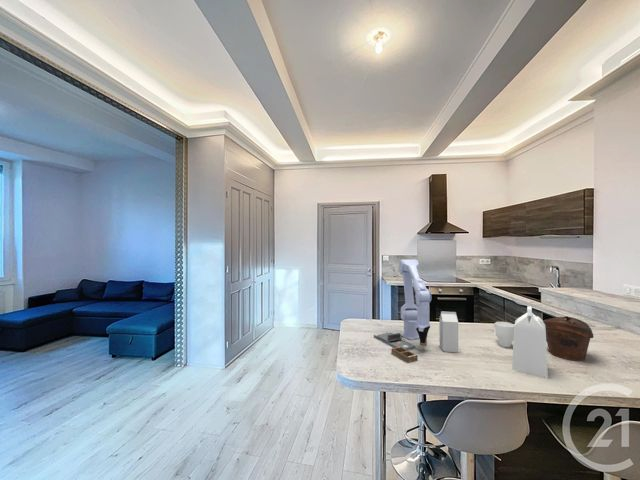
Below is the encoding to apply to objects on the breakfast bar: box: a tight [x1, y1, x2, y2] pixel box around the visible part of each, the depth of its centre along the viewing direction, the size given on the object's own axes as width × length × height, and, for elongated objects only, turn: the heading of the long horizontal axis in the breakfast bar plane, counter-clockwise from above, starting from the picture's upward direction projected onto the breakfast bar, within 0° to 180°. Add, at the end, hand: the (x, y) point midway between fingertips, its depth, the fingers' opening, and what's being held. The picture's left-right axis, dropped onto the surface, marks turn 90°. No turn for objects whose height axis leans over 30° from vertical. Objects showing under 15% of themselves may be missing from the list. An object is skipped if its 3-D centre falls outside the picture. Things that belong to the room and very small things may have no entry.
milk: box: [511, 305, 549, 379], centre depth 115 cm, size 12×12×26 cm
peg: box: [419, 335, 428, 347], centre depth 134 cm, size 3×3×6 cm
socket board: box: [390, 347, 419, 364], centre depth 126 cm, size 6×11×2 cm, turn 26°
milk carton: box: [438, 311, 459, 354], centre depth 135 cm, size 7×7×19 cm
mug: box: [492, 321, 515, 348], centre depth 141 cm, size 12×8×11 cm
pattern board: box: [373, 334, 417, 351], centre depth 144 cm, size 10×22×1 cm, turn 26°
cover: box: [376, 332, 403, 343], centre depth 148 cm, size 10×9×3 cm
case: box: [542, 316, 595, 362], centre depth 128 cm, size 18×20×18 cm
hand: (423, 341), depth 134 cm, fingers closed on peg, 3 cm apart
